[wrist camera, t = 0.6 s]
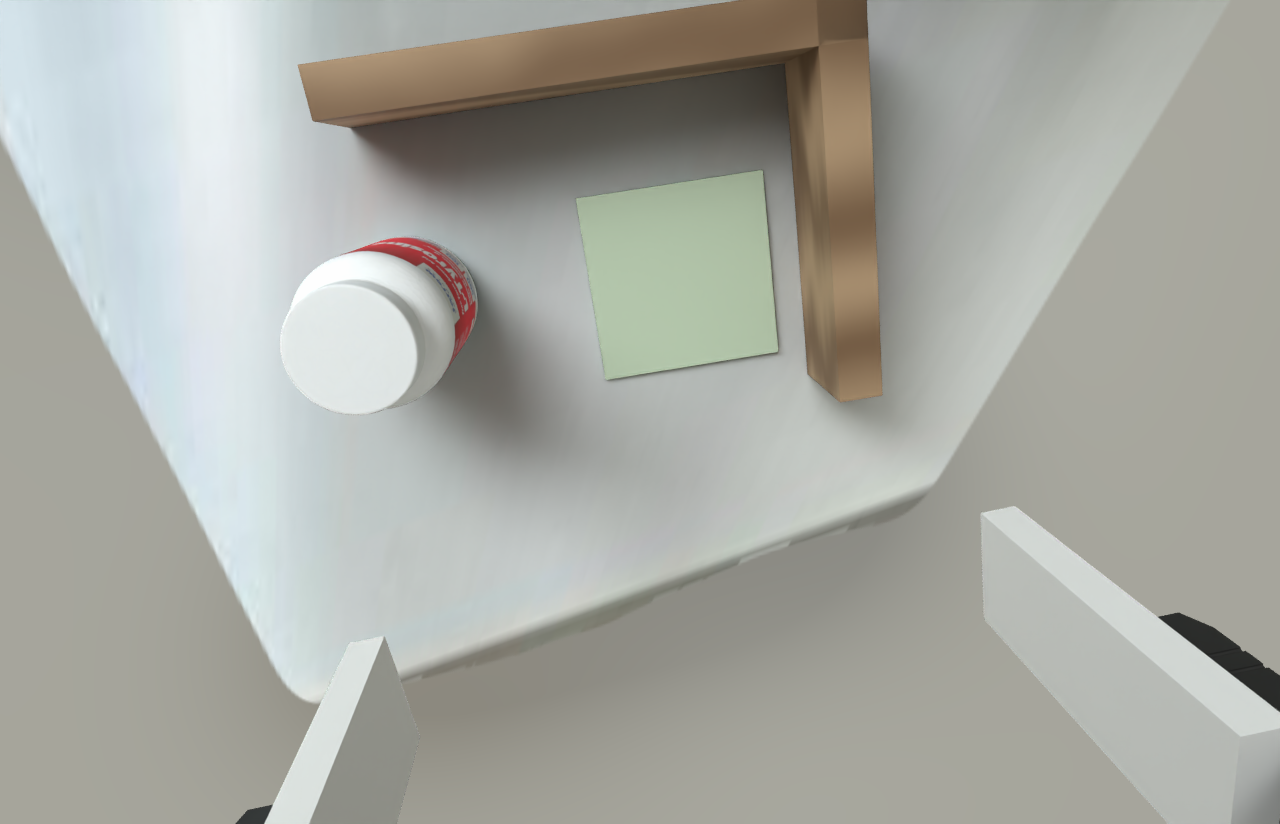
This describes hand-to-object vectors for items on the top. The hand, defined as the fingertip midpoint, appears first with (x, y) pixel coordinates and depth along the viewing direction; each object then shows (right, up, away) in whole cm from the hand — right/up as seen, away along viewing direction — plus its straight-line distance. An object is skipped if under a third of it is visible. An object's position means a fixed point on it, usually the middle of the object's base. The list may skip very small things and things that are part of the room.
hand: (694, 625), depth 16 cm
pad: (+1, +11, +21) cm, 23 cm away
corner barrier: (-3, +14, +19) cm, 24 cm away
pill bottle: (-12, +10, +20) cm, 26 cm away
